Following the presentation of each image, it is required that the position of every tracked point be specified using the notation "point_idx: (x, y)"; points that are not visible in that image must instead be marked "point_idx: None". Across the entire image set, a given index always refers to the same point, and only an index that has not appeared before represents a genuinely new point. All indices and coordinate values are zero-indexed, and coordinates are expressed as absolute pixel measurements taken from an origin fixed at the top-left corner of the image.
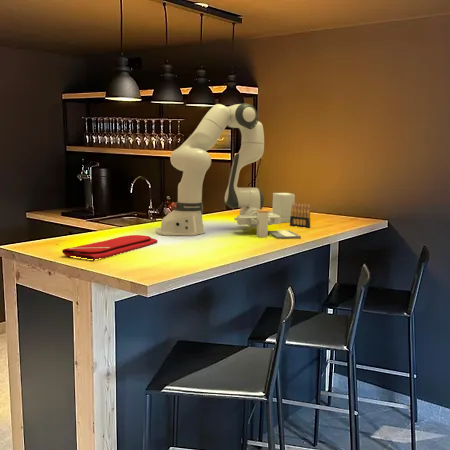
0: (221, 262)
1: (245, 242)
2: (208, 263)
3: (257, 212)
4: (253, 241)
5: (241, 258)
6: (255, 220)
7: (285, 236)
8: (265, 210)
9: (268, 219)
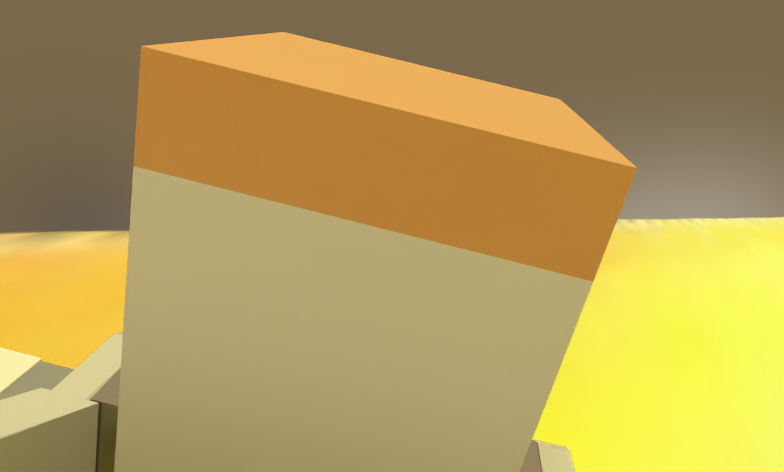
0: (732, 230)
1: (650, 430)
2: (779, 240)
3: (572, 281)
4: (553, 433)
5: (656, 227)
6: (568, 451)
7: (42, 365)
8: (340, 53)
9: (34, 414)
